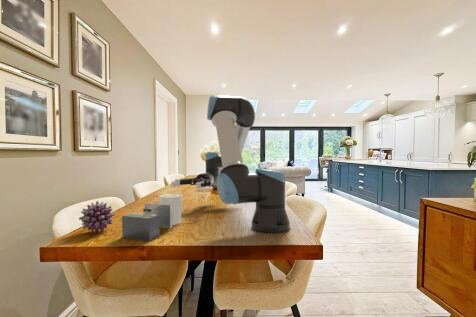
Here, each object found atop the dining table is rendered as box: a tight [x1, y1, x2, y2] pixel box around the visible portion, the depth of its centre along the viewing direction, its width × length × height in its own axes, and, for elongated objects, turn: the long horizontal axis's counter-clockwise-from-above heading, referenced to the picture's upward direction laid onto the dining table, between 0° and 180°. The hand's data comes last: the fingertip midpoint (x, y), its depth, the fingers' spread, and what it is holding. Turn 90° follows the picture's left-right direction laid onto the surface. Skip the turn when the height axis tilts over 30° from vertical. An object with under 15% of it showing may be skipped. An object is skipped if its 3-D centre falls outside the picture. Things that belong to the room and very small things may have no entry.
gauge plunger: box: [142, 202, 173, 229], centre depth 93 cm, size 12×7×9 cm, turn 71°
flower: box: [78, 200, 116, 233], centre depth 93 cm, size 12×12×12 cm
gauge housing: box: [121, 212, 160, 242], centre depth 87 cm, size 12×5×8 cm, turn 71°
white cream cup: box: [158, 193, 183, 227], centre depth 104 cm, size 10×10×12 cm
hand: (184, 185), depth 114 cm, fingers open, 13 cm apart
